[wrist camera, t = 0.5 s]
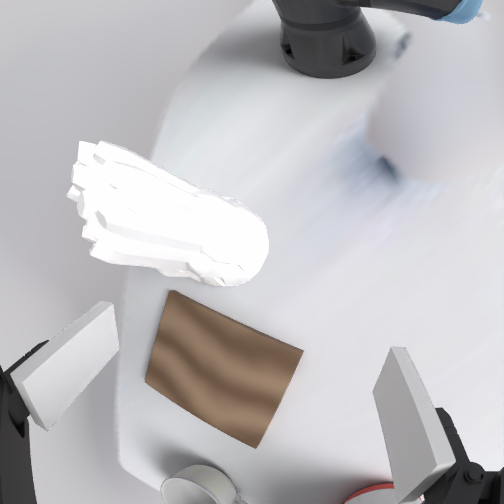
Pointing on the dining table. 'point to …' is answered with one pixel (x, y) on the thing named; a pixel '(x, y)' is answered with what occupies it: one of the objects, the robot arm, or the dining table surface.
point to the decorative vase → (163, 219)
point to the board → (220, 368)
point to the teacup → (199, 487)
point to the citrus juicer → (377, 495)
